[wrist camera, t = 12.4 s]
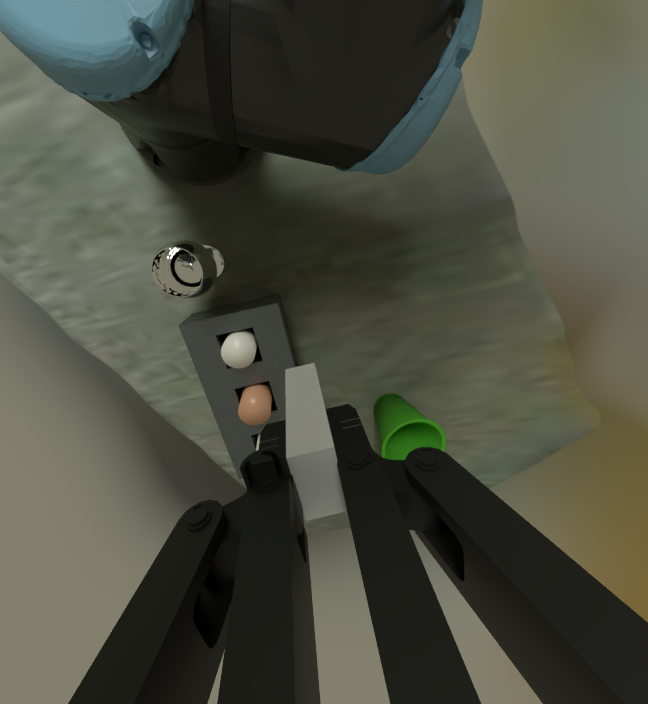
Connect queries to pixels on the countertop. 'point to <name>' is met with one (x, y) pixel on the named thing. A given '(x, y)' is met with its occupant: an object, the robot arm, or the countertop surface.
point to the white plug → (239, 348)
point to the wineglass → (186, 268)
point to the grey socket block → (227, 382)
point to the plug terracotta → (255, 403)
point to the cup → (404, 428)
